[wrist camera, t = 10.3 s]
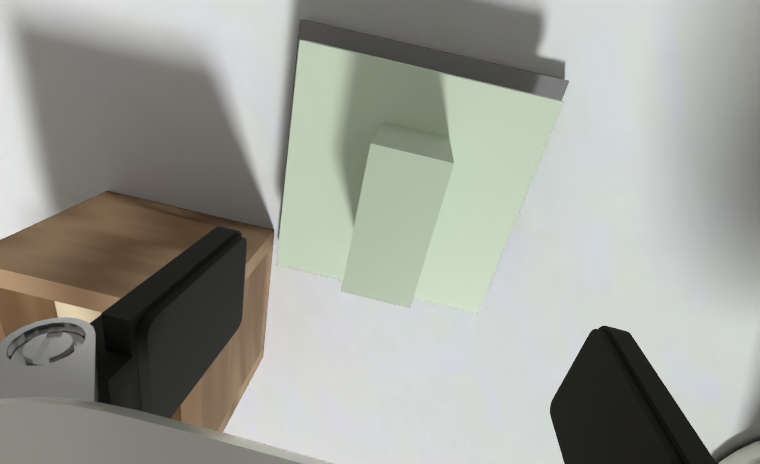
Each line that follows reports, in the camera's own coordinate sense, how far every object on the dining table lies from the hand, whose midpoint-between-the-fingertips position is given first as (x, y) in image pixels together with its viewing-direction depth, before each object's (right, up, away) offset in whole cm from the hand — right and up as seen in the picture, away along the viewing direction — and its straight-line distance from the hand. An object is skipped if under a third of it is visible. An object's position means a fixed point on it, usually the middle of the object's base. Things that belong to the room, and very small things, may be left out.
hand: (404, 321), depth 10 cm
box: (-13, -1, +14) cm, 19 cm away
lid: (+1, +5, +9) cm, 11 cm away
